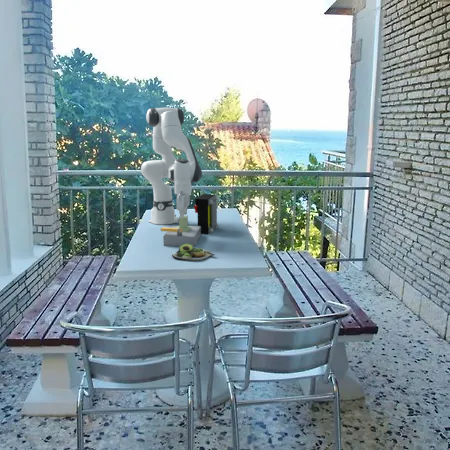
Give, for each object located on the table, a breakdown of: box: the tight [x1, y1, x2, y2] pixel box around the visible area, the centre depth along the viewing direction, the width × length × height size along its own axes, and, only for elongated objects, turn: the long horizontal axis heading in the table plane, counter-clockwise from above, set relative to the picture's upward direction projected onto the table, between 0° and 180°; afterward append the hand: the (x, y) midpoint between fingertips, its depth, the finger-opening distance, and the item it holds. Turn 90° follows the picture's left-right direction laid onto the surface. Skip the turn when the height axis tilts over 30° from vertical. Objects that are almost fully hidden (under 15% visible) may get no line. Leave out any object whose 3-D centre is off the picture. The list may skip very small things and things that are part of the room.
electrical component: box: [193, 193, 219, 235], centre depth 266 cm, size 18×10×20 cm, turn 168°
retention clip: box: [160, 226, 183, 236], centre depth 237 cm, size 11×3×3 cm, turn 75°
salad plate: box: [171, 244, 216, 262], centre depth 217 cm, size 19×18×5 cm
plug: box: [177, 215, 192, 232], centre depth 247 cm, size 7×7×11 cm
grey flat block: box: [162, 225, 202, 247], centre depth 246 cm, size 24×16×5 cm, turn 175°
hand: (183, 216), depth 246 cm, fingers open, 8 cm apart
